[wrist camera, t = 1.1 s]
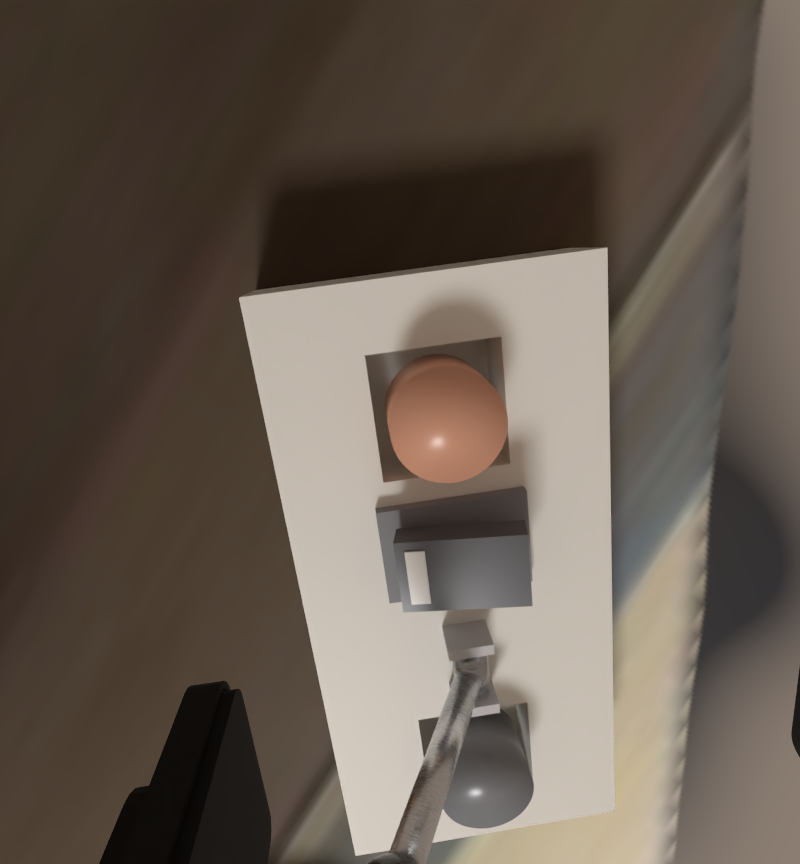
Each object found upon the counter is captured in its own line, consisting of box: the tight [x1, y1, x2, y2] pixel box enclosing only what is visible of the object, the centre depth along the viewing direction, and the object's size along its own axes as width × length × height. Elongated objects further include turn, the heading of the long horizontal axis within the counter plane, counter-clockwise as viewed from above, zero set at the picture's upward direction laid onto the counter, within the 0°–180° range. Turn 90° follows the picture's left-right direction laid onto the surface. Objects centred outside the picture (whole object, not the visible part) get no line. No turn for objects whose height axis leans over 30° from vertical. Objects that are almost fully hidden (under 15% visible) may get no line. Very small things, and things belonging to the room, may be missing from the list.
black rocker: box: [393, 520, 533, 613], centre depth 23 cm, size 3×5×1 cm, turn 97°
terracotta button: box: [385, 354, 508, 483], centre depth 23 cm, size 4×4×3 cm
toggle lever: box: [368, 655, 491, 864], centre depth 22 cm, size 2×2×12 cm
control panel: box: [239, 248, 615, 856], centre depth 27 cm, size 29×14×6 cm, turn 7°
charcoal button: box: [432, 709, 534, 829], centre depth 28 cm, size 4×4×3 cm
